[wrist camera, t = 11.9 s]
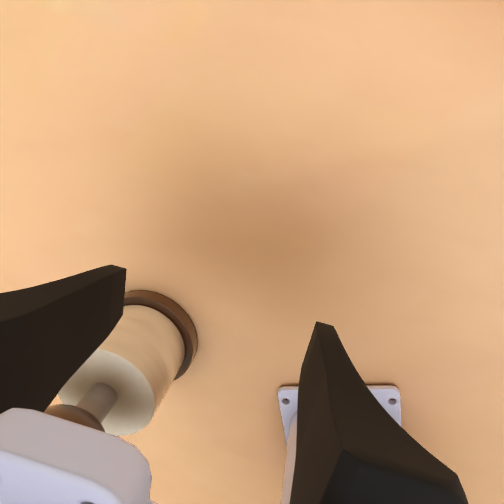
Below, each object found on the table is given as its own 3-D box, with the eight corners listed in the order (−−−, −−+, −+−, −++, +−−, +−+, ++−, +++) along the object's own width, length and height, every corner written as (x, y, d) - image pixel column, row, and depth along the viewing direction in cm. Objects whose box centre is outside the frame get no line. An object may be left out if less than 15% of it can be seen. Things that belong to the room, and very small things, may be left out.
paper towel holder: (189, 387, 28) (90, 591, 16) (100, 360, 29) (-57, 537, 17) (205, 306, 26) (101, 480, 14) (107, 278, 26) (-74, 421, 14)
